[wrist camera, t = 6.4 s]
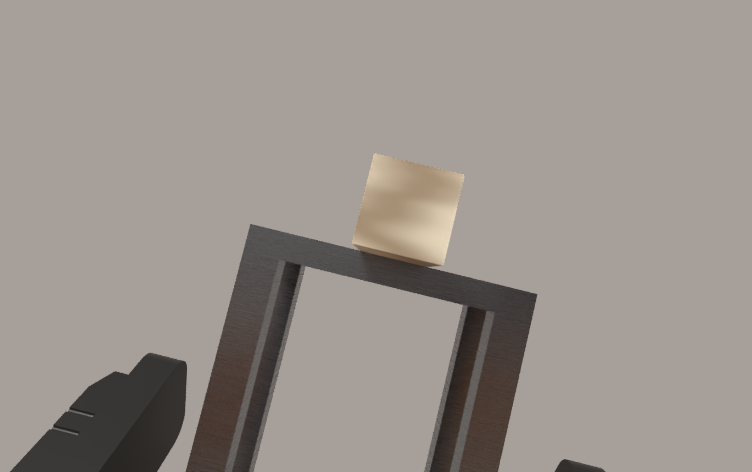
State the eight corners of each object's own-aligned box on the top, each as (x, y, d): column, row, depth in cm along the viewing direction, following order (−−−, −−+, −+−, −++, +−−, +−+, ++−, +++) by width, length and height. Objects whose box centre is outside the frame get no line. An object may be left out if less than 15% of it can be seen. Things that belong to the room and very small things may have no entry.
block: (411, 267, 39) (422, 222, 39) (443, 265, 19) (464, 174, 19) (366, 256, 39) (377, 212, 39) (352, 243, 19) (374, 153, 19)
